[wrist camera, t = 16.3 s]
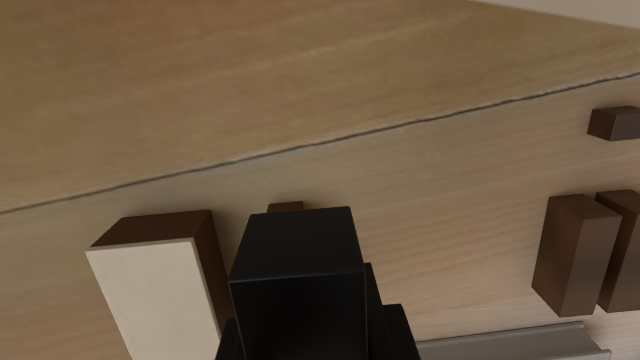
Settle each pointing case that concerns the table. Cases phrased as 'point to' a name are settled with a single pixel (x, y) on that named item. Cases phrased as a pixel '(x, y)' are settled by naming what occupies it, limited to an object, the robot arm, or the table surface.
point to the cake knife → (301, 287)
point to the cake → (165, 284)
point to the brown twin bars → (593, 238)
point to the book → (518, 345)
